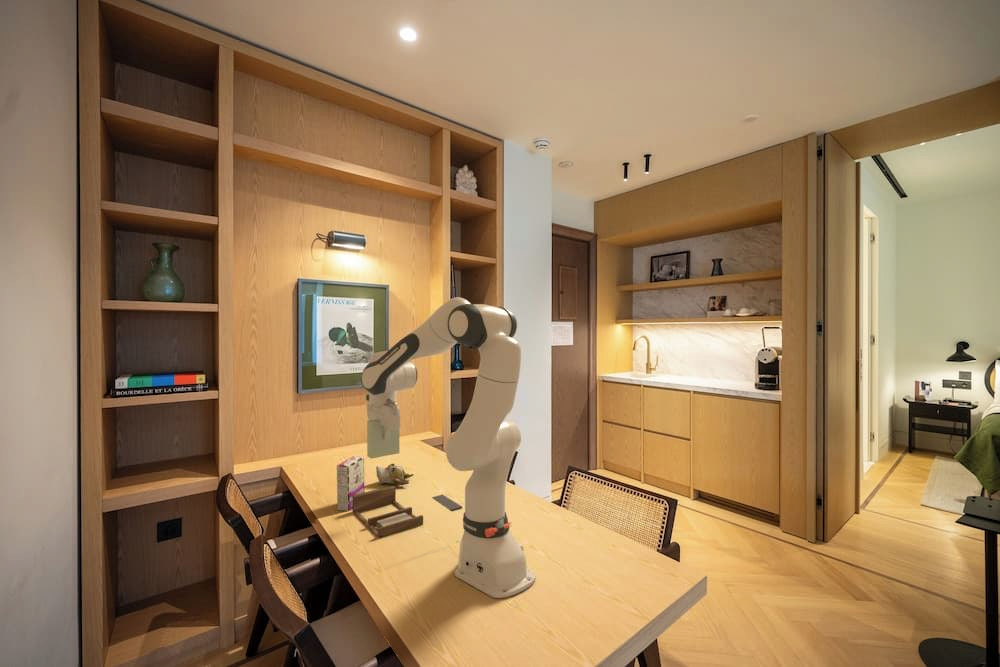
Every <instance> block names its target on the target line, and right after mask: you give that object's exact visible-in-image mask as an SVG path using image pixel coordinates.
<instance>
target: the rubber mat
mask: <svg viewBox="0 0 1000 667" xmlns="http://www.w3.org/2000/svg"><path fill="white" fill-rule="evenodd" d="M431 498H432V499H433V500H434V501H436V502H437V503H438V504H440V505H441V506H442V507H445V508H446V509H447V510H449V511H450V512H454V511H456V510H460V509H463V506H462V505H461V504H458V503H457V502H456V501H454V500H452V499H450V498H449V497H448V496H446V495H445V494H440V495H435V496H433V497H431Z"/></svg>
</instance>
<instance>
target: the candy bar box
mask: <svg viewBox="0 0 1000 667" xmlns="http://www.w3.org/2000/svg"><path fill="white" fill-rule="evenodd" d="M364 492H366V490H365V457H364V456H358V455H357V456H356V455H355V456H351V457H349V458H348V459H346V460H344V461H343V462H341V463H339V464H337V465H336V493H337V496H336V498H337V499H336V500H337V502H336V503H337V511H341V512H349V511H350V512H351V511H353V495H356V494H360V493H364Z"/></svg>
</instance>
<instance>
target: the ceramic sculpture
mask: <svg viewBox="0 0 1000 667" xmlns="http://www.w3.org/2000/svg"><path fill="white" fill-rule="evenodd" d="M375 470H376V471H375V472H376V478H377V479H378V483H379V485H383V484H384V483H385V484H386V483H387V484H390V485H397V486H406V485H408V484H409V483H410V482H409V481H407V479H410V478H411V477H414V474H413V473H411V474H409V473H406V471H405V470H404V468H403V467H402V466H400V465H396V464H395V463H390V464H388V466H386V467H384V466H378V465H376V467H375Z"/></svg>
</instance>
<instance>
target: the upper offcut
mask: <svg viewBox="0 0 1000 667" xmlns="http://www.w3.org/2000/svg"><path fill="white" fill-rule="evenodd" d="M410 518H412V517H411V516H409V515H408V514H406V513H402V514H399V515H395V516H392V517H389V518H386V519H382V520H379V521H377V526H376V529H377V528H379V527H383V526H386V525H390V524H393V523H396V522H400V521H403V520H407V519H410Z"/></svg>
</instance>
